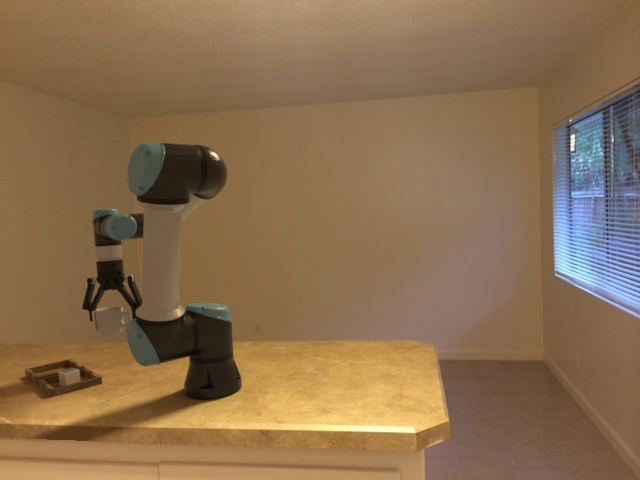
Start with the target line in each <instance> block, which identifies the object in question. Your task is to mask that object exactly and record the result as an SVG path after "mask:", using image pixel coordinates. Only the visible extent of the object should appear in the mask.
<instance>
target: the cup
mask: <svg viewBox="0 0 640 480" xmlns="http://www.w3.org/2000/svg"><path fill="white" fill-rule="evenodd" d="M95 314H96V320H97V325H98V330H99V331H98V333H99V335H101V336H103V337H109V336H115V335H118V334H120V333H122V331H123V328H126V326H127V323H128V322H129V321H130V318H129V311H126V310H125V311H124V308H123V306H121V305H120V306H119V305H118V306H116V305H115V306H106V307H100V308H97V309H96V310H95ZM124 316H126V317H127V323H125V322H124Z"/></svg>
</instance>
